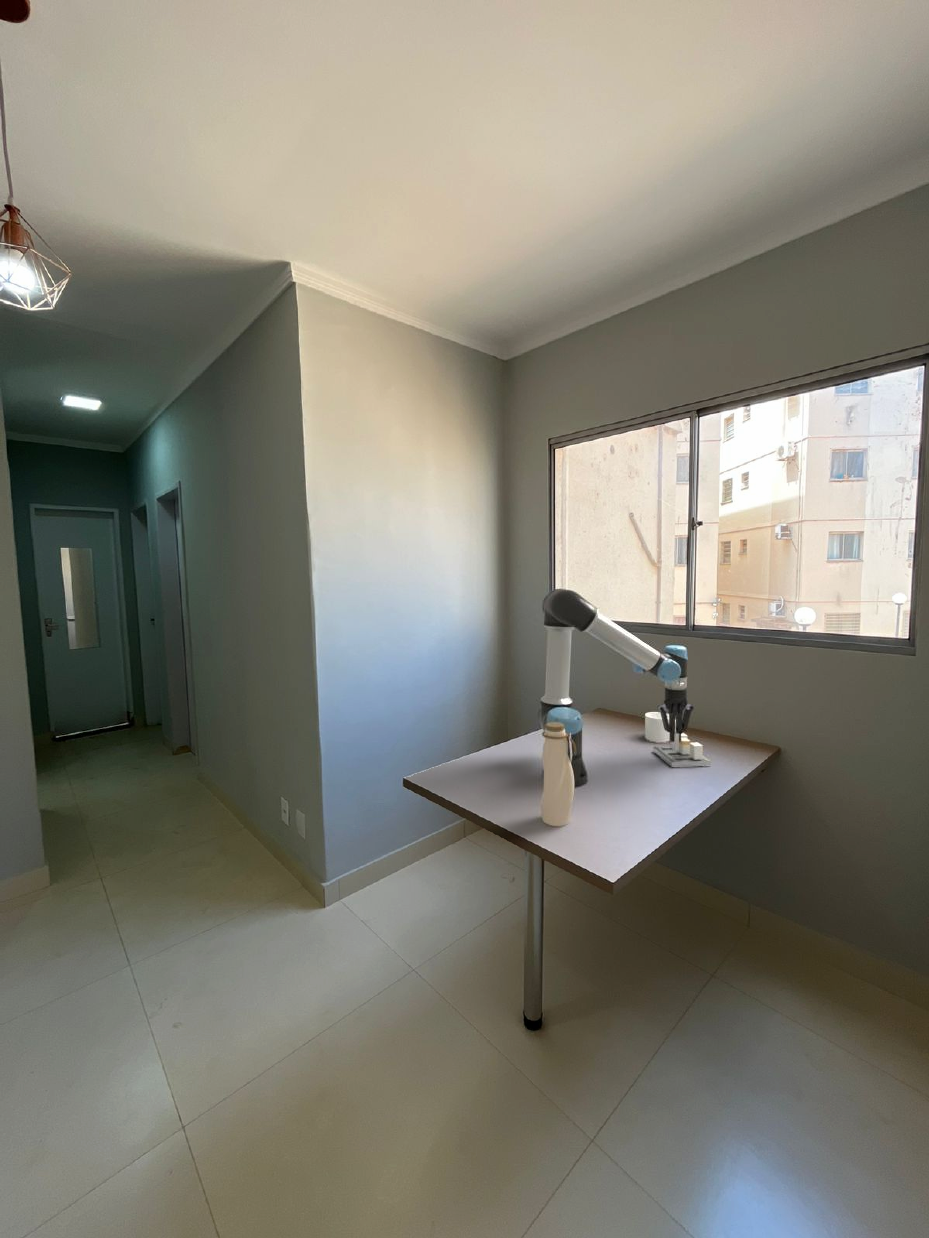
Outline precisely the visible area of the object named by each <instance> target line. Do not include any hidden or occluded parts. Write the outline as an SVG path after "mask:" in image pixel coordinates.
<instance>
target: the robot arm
mask: <svg viewBox="0 0 929 1238" xmlns="http://www.w3.org/2000/svg"><path fill="white" fill-rule="evenodd" d="M541 609H542V612H543V627H544V628H545V629H546V630H547V637H546V638H547V639H546V640H547V641H546V659H545V660H546V662H545V663H546V665H545V685H544V688H545V689H544V691H545V692H544V695H543V696H541V698H540V703H539V704H540V705H539V708H538V712H537V722H538V725H539V726H540V728H541V729H542V730H543V731H542V732H544V731H545V729H546V724H547V723H549V722H559V723H563V724H564V729H565V732H566V733H567V734H568V736H569V737H570V732H571V739H572V740H573V742H574V743H575V746H576V755H574V746H573V744H572V742H571V746H572V760H571V758H570V744H569V739H568V738H567V737H566V738H567V741H568V757H569V759H570V762H571V765H572V769H573V774H574V788H577V787H581V786H583V785H586V783H587V782H588V781H589V780H588V775H589V774H588V770H587V768H586V764H585V761H584V758H583V726H584V725H583V724H584V722H583V717H582V714H581V713H580V712H579V711H578V710H576V709H574V708H573V705H574V703H573V702H574V701H573V699H572V698H571V697H570V679H571V677H570V676H571V675H570V674H571V652H572V633H573V630H575V629H576V630H578V631H579V632H580V633H584V632H586V633H588V634H590V635H591V636H592V637H594V638H595V639H597V640H598V641H600V642H602V643H603V644H604V645H606V646H608V647H609V648H611V649H613V651H615V652H617V653H619V654H620V655H622V656H623V657H624V658H626V659H628V660H630V662H631V667H632V670H633V672H634V673H635V674H641V675H643V674H648V675H650V676H652V677H655V678H657V680H660V681H662V682H664V687H665V688H664V701H663V704H662V705H658V706H657V709H658V711H659V712H660V713H661V717H662V722H663V726H664V729H665V730H666V731H667V732H669V733H670V738H669V739H670V742H671V746H672V749H673V750H674V751H679V741H681V734H682V733H684V732H687V730H688V726H689V722H690V719H691V714H692V711H694V706H693V705H691V704H689V703H688V700H687V697H688V695H687V694H688V690H687V686H688V677H687V676H688V650H687V647H685V646H684V645H672V644H671V645H666V646H665V647H664V650H663V651H661V652H660V651H658V650H656V649H654V648H653V647H651V646H650V645H649V644H647V643H645V642H644V641H642V640H641V639H639V638H638V637H637V636H635V635H633V634H632V633H630V632H629V631H628V630H626V629H624V628H622V627H621V626H620V625H618V624H617V623H616V622H614V621H612V620H610V619H609V618H608V617H606V616H604V615H603V614H601V613H600V611H599V608H598V607H596V606H594V605H593V604H592V603H591V602H589V601H588V600H587V599H586V598H583V596H582V595H580V594H579V593H578V592H576V591H574V590H570V589H566V588H556V589H552V590H550V591H549V592H548V593H546V595H545V596H544V597H543V600H542V602H541ZM666 710H668V713H667V712H666ZM667 714H669V723H668V718H667ZM675 719H676V732H675ZM542 779H543V780H544V768H543V770H542Z"/></svg>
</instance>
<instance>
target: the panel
mask: <svg viewBox="0 0 929 1238" xmlns="http://www.w3.org/2000/svg"><path fill="white" fill-rule="evenodd" d="M652 752H653V754H655V753H656V754H657V755H658V756H660V757H661V758H660V757H659V758H660V759H661V760H662V761H663V760H664V761H665V762H664V761H663V762H664V763H665V764H667V763H668V764H669V765H670V766H671V767H670V766H669V765H668V764H667V765H668V766H669V767H670V768H672V767H680V768H692V767H691V766H703V765H704V766H703V767H707V766H706V765H710V766H711V760H710V759H708V758H707V757H706V756H704V755H703V759H698V760H694V759H693V758H691V757H690V756H689V754H681V753H680V752H678V751H674V750H673V749H672V745H670V746H653V747H652ZM656 754H655V755H656ZM657 755H656V756H657Z"/></svg>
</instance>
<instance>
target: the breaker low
mask: <svg viewBox="0 0 929 1238" xmlns="http://www.w3.org/2000/svg"><path fill="white" fill-rule="evenodd" d="M703 749H704V745H703V744H701V743H699V742H690V753H689V756H690V757H691V758H693V759H694V760H698V759H703V756H704V754H703V753H704V750H703Z"/></svg>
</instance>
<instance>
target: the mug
mask: <svg viewBox="0 0 929 1238" xmlns="http://www.w3.org/2000/svg"><path fill="white" fill-rule="evenodd" d="M666 714H667V718H668V723H669V713H666ZM644 716H645V717H644V729H645V730H644V738H646V739H649V740H651V741H656V742H666V741H669V740H670V739H669V738H670V733H669V732H667V731H666V730H665V729H664V726H663V722H662V717H661V713H660V711H659V712H658V711H651V712H650V711H649V712H646V713H645V715H644ZM675 732H676V718H675ZM646 739H645V740H646Z"/></svg>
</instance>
